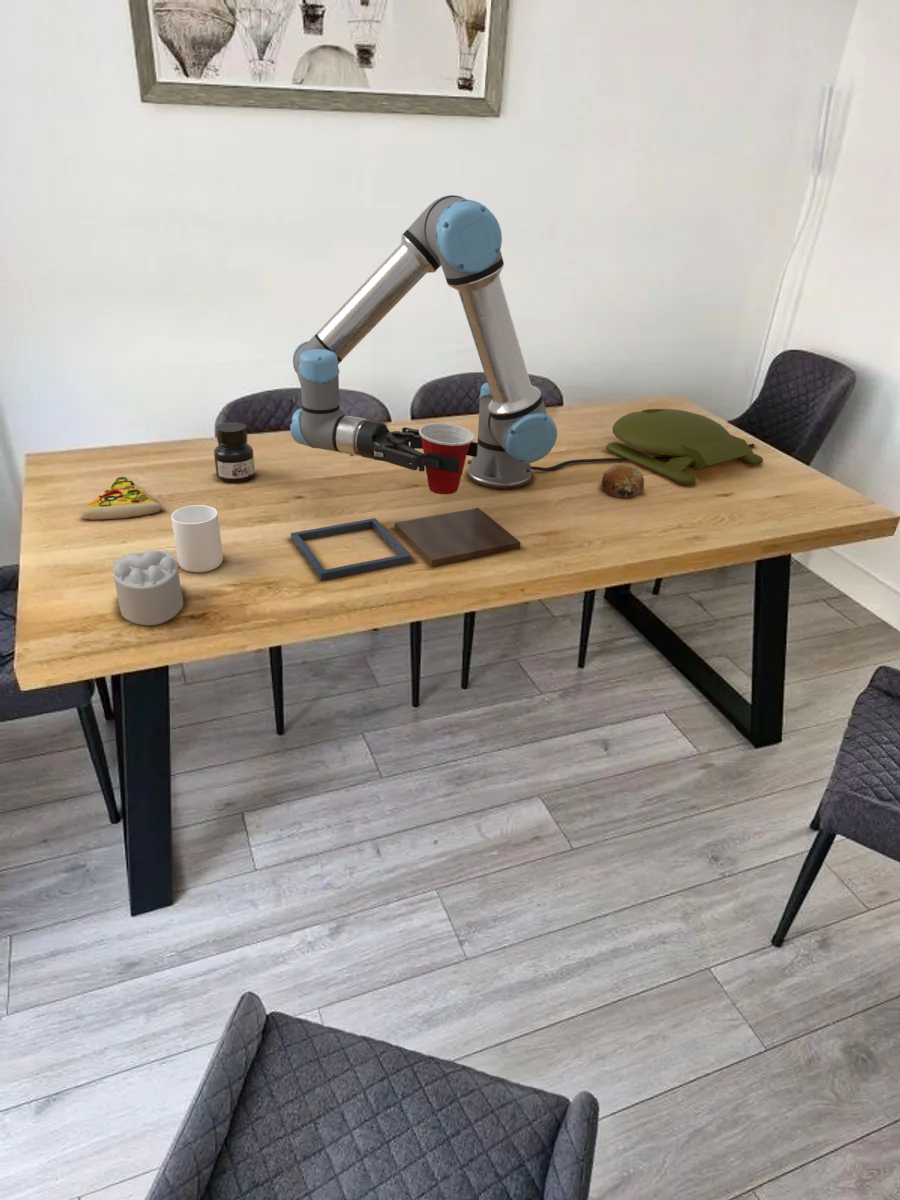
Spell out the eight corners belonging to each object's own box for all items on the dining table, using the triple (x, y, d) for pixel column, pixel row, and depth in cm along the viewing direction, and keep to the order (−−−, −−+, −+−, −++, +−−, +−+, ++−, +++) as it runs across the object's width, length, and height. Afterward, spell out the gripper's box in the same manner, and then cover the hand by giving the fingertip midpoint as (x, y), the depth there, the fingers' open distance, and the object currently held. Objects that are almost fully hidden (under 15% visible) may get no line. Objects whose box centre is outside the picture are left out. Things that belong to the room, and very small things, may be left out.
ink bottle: (218, 485, 188) (212, 435, 182) (211, 471, 195) (205, 423, 189) (260, 480, 192) (256, 430, 186) (252, 467, 199) (248, 418, 193)
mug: (168, 550, 160) (160, 502, 155) (210, 542, 164) (204, 494, 159) (185, 577, 152) (177, 527, 146) (229, 567, 155) (223, 518, 150)
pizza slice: (83, 523, 169) (80, 509, 168) (86, 484, 186) (83, 472, 184) (161, 515, 174) (159, 502, 172) (158, 478, 191) (156, 466, 189)
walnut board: (477, 513, 180) (478, 507, 180) (520, 548, 167) (520, 541, 166) (394, 529, 172) (394, 522, 171) (431, 567, 159) (431, 560, 158)
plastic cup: (466, 503, 157) (469, 443, 151) (411, 496, 159) (412, 437, 153) (476, 482, 167) (479, 425, 160) (424, 476, 168) (425, 419, 162)
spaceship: (766, 465, 212) (775, 429, 207) (685, 489, 197) (692, 450, 192) (665, 426, 236) (671, 392, 231) (586, 444, 221) (590, 408, 216)
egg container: (179, 583, 150) (172, 541, 145) (186, 619, 139) (180, 575, 135) (118, 592, 146) (110, 549, 142) (122, 630, 136) (112, 584, 132)
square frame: (375, 524, 174) (375, 518, 173) (411, 562, 160) (411, 555, 159) (291, 539, 166) (290, 532, 166) (321, 580, 153) (321, 573, 152)
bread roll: (642, 503, 197) (650, 470, 196) (636, 500, 188) (644, 465, 187) (602, 495, 201) (610, 462, 200) (594, 491, 191) (602, 457, 190)
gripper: (388, 439, 175) (486, 458, 168) (337, 473, 158) (445, 495, 151) (388, 405, 171) (488, 422, 164) (336, 436, 154) (446, 457, 147)
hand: (467, 457), depth 158 cm, fingers closed on plastic cup, 9 cm apart
